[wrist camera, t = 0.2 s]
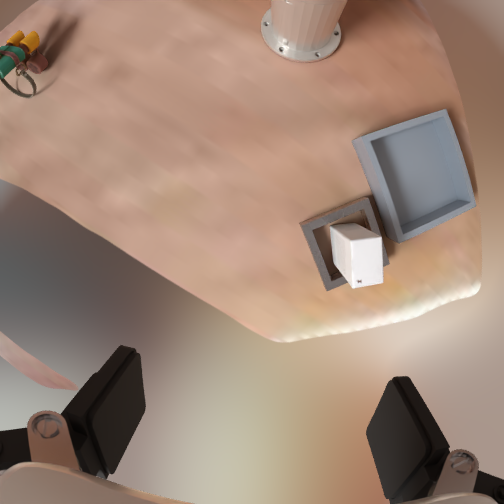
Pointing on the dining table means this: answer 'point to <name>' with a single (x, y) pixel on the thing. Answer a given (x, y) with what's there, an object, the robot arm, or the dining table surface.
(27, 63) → the green yellow looped piece
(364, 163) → the bin
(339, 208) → the collar
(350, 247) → the skincare box
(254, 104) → the dining table surface
